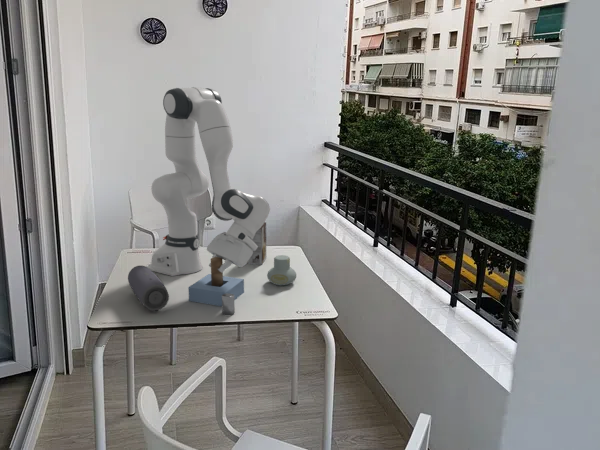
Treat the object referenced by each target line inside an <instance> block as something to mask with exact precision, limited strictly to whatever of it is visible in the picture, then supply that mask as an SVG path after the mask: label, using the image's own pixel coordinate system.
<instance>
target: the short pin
mask: <svg viewBox="0 0 600 450" xmlns="http://www.w3.org/2000/svg"><path fill="white" fill-rule="evenodd" d="M235 304H236V303H235V300H234V294H230V293H227V294H223V295H222V306H221V314H222V316H225V315H231V316H234V315H235V314H234V313H236V312H235V310H236V308H235V307H236V306H235Z"/></svg>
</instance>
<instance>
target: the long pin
mask: <svg viewBox="0 0 600 450" xmlns="http://www.w3.org/2000/svg"><path fill="white" fill-rule="evenodd" d="M210 263H211V267H210V274H211V286H216V287H221V286H223V276H224V272H223V273H221V272H219V271H218V270H217V268H218V267H219V266H221V265H222V264H224V262H223V259H222V258H221V257H214V258H212V257H211V258H210Z"/></svg>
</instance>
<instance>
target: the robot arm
mask: <svg viewBox="0 0 600 450" xmlns="http://www.w3.org/2000/svg"><path fill="white" fill-rule="evenodd" d="M162 101H163V102H162V105H163V110H164V111H165V113H166V117H165V126H164V145H165V146H164V148H165V157H166V158H167V160H169V161H170V162H172V164H173V166H174V168H175V172H172V173H167V174H163V175H162V176H160V177H157V178H155V179H154V180H153V182H152V183H151V189H150V190H151V194H152V196H153V198H154V199H155V200H156V201H157V202H158V203H160V205H161V207H163V209H164V211H165V214H166V218H167V226H168V234H166V235H165V236H163V237H162V241H164V240H165V243H164V244H162V245H161V246H160V247H158V248H157V249H156V250H154V251H153V253H152V255H151V261H150V262H149V263H148V264H146V265H145V267H147V268H149V269H150V270H151V271H152V272H154V273H155V272H156V273H158V274H159V273H160V274H163V275H167V276H172V277H174V276H179V275H188V274H194V273H196V272H200V271H201V270H202V269H203V264H202V261H201V256H200V251H199V247H200V246H199V245H200V243H199V240H200V237H199V233H198V219H197V214H196V213H195V212H194V211H193V210H191V209H190V208H189V205H188V200H191V199H195V198H198V197H200V196H201V195H203V194H205V193H206V192H207V191H208V189H209V186H210V184H209V179H208V175H206V173H205V172H203V171H202V169H201V168H200V166H199V163H198V160H197V159H198V158H197V155H196V154H197V153H196V151H197V150H196V128H195V126H196V125H197V129H198V133H199V137H200V138H199V139H200V142H201V145H202V149H203V151H204V155H205V158H206V162H207V165H208V169H209V175H210V180H211V186H212V192H213V197H212V202H211V210H212V213H213V215H214V216H215V217H216V218H217V219H218V220H220V221H224V222H228V221H232V220H233V222H232V224H231V226H230V227H229V228H228V229H227V230H226V231H223V232H221V233H219V234H217V235H216V236H215V237H214V238H213V239H212V240H211V241H210V242H209V243H208V245H207V246H206V251H207V252H208V253H209V254H211V255H212V257H211V258H214V257H221V258H222V260H224V262H223V264H222V265H221V266H219V267H218V268H217V270H218V271H219V272H221V273H223V274H224V271H225V270H226V269H228V268H229V267H231V266H232V265H235V266H237V267H240V268H243V267H244V266H246V265H247V264H248V260H249V259H250V258H251V256H252V254H253V251H255V250H256V249H257V248H258V246H257V245H256V244H255V243H254V241H253V240H252V239H253V238H254V236H255V233H256V232H257V230H259V229H260V228H261V226H262V225H263V224H264V222H266V221H267V219H268V217H269V214H270V213H271V207H270V204H269V203H268V201H267V200H266V199H265V198H264V197H263V196H261V195H258V194H249V193H245V192H244V191H243V192H242V191H241V190H239V189H235V188H231V185H230V184H231V183H230V179H229V175H228V162H229V158H230V156H231V155H230V154H231V152H232V150H233V147H234V146H233V145H234V144H233V143H234V142H233V141H234V140H233V133H232V129H231V125H230V120H229V118H228V115H227V111H226V110H225V108H224V105H223V101H222V98H221V94H219V92H218V91H217V90H215V89H213V88H202V87H194V86H193V87H184V88H183V87H182V88H179V87H176V88H170V89H168V90H167V91H166V92H165V94H164V96H163V100H162ZM208 266H209V267H210V268H211V262H210V263H209V264H208Z"/></svg>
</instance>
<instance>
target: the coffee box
mask: <svg viewBox="0 0 600 450" xmlns="http://www.w3.org/2000/svg"><path fill="white" fill-rule="evenodd" d="M252 240H253V241H254V243H255V244H256V245H257V246H258V248H257V249H256V250H255V251H253V254H252V256H251V258H250V259H249V260H248V262H247V264H248V265H259V266H261V265H263V264H264V262H265V261H266V259H267V222H266V221H265V222H264V224H263V225H262V226H261V228H260V229H259V230H257V232H256V233H255V236H254V238H253V239H252Z"/></svg>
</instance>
